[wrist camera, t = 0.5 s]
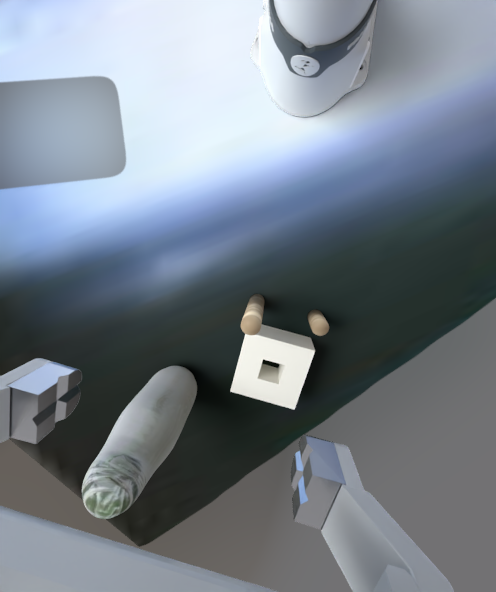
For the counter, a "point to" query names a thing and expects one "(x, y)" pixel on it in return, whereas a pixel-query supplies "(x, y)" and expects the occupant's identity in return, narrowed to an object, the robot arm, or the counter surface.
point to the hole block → (270, 380)
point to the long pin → (253, 315)
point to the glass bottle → (139, 442)
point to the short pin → (318, 322)
